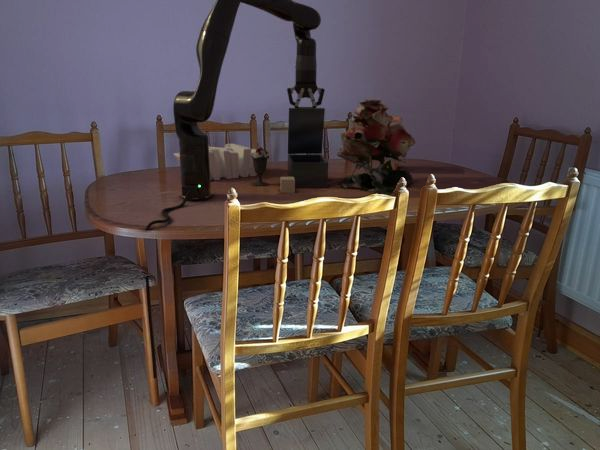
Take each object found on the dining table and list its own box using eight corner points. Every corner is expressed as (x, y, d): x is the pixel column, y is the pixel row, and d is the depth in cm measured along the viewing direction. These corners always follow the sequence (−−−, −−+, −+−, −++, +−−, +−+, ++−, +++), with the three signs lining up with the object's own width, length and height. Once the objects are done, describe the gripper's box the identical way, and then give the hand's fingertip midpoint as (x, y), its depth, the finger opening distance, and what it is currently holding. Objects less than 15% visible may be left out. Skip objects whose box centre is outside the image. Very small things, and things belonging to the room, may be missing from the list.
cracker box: (396, 173, 213) (399, 119, 207) (380, 172, 215) (384, 119, 209) (399, 166, 226) (402, 116, 220) (384, 165, 228) (387, 115, 222)
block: (294, 192, 180) (294, 179, 179) (281, 193, 180) (281, 179, 178) (293, 189, 185) (293, 176, 183) (280, 189, 184) (280, 176, 183)
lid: (324, 108, 191) (323, 103, 195) (289, 108, 190) (288, 103, 194) (321, 153, 201) (320, 147, 205) (287, 153, 200) (286, 147, 204)
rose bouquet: (418, 180, 200) (424, 98, 191) (389, 196, 176) (394, 103, 167) (355, 173, 213) (358, 95, 204) (320, 187, 189) (322, 99, 180)
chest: (327, 187, 188) (328, 162, 185) (291, 188, 187) (291, 162, 184) (321, 177, 204) (321, 154, 201) (287, 177, 203) (287, 154, 200)
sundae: (252, 186, 188) (252, 144, 183) (249, 182, 194) (248, 141, 190) (271, 186, 190) (271, 143, 185) (267, 181, 196) (267, 140, 191)
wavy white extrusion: (185, 183, 192) (184, 154, 188) (172, 174, 205) (171, 147, 202) (273, 174, 208) (273, 147, 205) (255, 167, 222) (255, 141, 219)
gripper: (286, 68, 188) (286, 117, 193) (327, 69, 189) (326, 118, 194) (285, 68, 195) (285, 116, 200) (324, 69, 196) (323, 116, 201)
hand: (305, 116), depth 197 cm, fingers closed on lid, 5 cm apart
